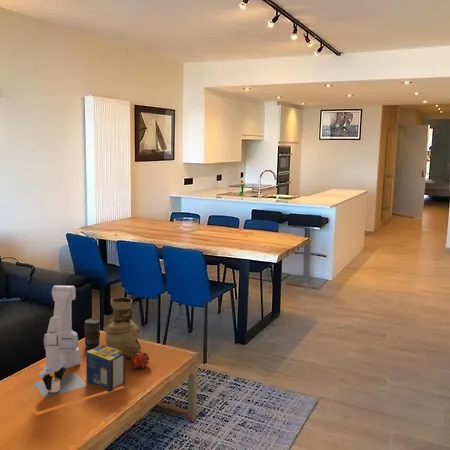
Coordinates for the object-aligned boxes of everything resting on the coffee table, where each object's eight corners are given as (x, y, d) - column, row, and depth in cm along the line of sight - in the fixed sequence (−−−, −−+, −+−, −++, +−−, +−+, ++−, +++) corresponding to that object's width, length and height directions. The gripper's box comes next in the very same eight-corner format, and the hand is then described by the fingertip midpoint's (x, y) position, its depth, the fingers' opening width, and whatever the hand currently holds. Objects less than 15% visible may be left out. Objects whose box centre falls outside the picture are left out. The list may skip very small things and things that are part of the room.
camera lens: (88, 343, 275) (88, 317, 272) (102, 344, 273) (102, 319, 271) (82, 349, 267) (81, 322, 264) (96, 350, 266) (96, 324, 263)
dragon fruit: (149, 365, 254) (134, 377, 245) (138, 353, 256) (122, 365, 246) (156, 356, 250) (140, 368, 240) (144, 344, 252) (129, 355, 242)
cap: (62, 388, 221) (62, 379, 221) (54, 393, 217) (54, 383, 216) (54, 385, 224) (54, 376, 223) (45, 390, 219) (45, 380, 218)
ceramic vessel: (151, 350, 269) (152, 297, 264) (126, 364, 251) (126, 308, 246) (123, 342, 278) (124, 291, 273) (97, 355, 259) (97, 301, 254)
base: (74, 374, 239) (74, 365, 238) (88, 387, 226) (88, 378, 226) (32, 385, 226) (32, 376, 225) (44, 400, 214) (44, 390, 213)
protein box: (101, 374, 240) (102, 344, 237) (125, 383, 232) (126, 352, 229) (85, 382, 231) (85, 351, 228) (109, 392, 223) (110, 360, 221)
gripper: (58, 350, 226) (58, 378, 228) (33, 362, 213) (34, 391, 215) (69, 353, 223) (70, 381, 225) (45, 366, 210) (46, 395, 212)
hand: (53, 386), depth 220 cm, fingers closed on cap, 5 cm apart
